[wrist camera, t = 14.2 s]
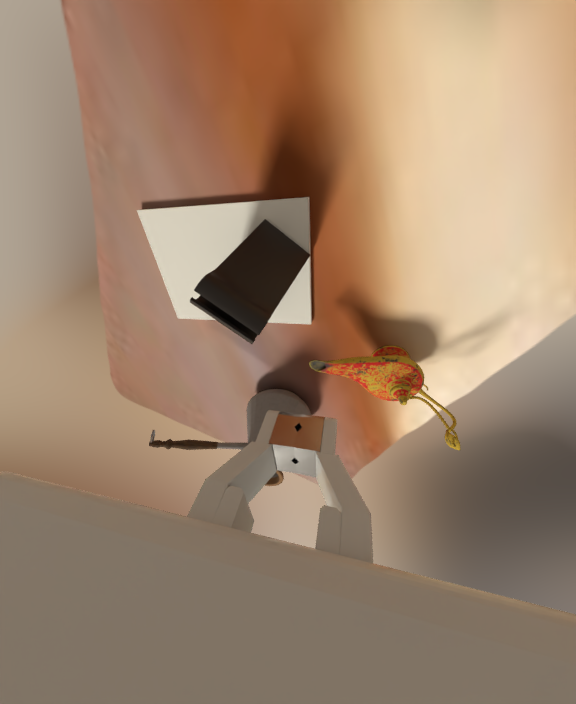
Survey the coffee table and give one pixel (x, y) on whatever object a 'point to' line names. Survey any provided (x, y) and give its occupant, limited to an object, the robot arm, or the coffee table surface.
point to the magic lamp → (387, 379)
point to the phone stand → (251, 281)
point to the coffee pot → (249, 423)
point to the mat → (225, 248)
